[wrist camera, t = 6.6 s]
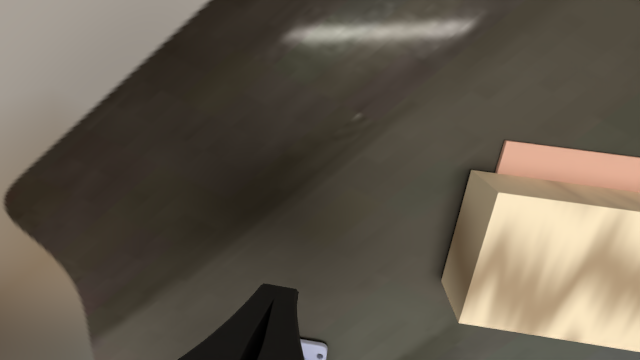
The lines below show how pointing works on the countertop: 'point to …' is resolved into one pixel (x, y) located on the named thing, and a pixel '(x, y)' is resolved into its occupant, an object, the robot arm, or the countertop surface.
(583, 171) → the mat
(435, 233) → the countertop surface
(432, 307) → the countertop surface
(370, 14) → the countertop surface
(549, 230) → the maple block
